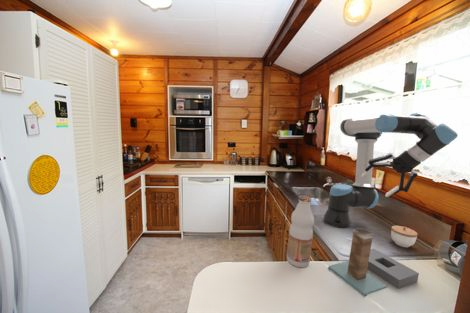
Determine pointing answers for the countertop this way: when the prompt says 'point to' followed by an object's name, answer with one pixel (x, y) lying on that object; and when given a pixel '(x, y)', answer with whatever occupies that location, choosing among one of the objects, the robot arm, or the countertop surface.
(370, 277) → the pad
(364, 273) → the walnut plug
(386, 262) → the block
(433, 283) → the countertop surface
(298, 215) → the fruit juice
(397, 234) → the lidded jar
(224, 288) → the countertop surface
